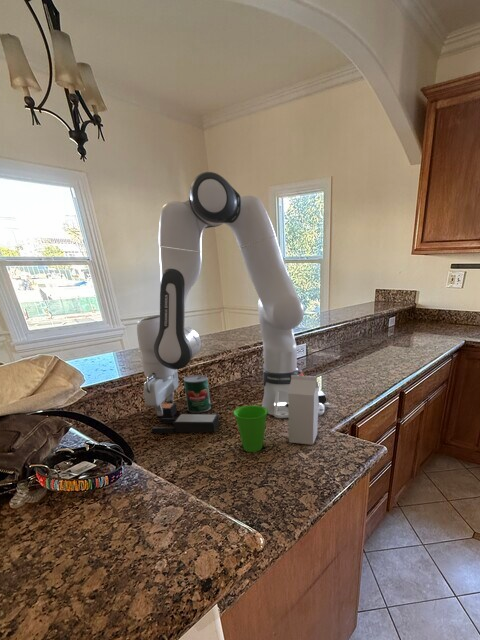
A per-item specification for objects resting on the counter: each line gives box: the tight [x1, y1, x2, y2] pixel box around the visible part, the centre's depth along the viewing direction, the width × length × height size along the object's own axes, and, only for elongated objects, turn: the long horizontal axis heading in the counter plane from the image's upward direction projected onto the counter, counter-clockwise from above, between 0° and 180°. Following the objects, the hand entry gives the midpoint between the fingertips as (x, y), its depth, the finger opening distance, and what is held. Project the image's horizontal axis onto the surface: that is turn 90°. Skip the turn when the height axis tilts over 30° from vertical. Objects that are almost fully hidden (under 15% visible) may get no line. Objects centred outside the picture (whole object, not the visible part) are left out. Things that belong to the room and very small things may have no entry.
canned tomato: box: [183, 374, 212, 414], centre depth 121 cm, size 8×8×11 cm
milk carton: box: [288, 375, 320, 446], centre depth 99 cm, size 7×7×19 cm
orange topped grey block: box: [155, 402, 178, 419], centre depth 118 cm, size 5×5×3 cm
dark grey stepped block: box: [151, 413, 220, 434], centre depth 109 cm, size 18×8×3 cm, turn 90°
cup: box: [233, 404, 268, 453], centre depth 96 cm, size 9×9×11 cm
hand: (165, 409), depth 117 cm, fingers open, 8 cm apart
